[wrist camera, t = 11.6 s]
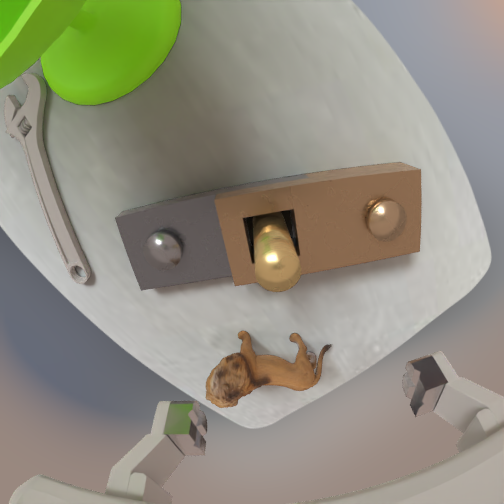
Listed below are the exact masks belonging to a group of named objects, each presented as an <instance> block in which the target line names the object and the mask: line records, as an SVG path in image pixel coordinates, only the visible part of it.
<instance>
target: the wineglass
mask: <svg viewBox="0 0 504 504" xmlns="http://www.w3.org/2000/svg"><path fill="white" fill-rule="evenodd" d="M180 24H181V3H180V0H0V89H1V88H3V87H4V86H6V85H8V84H9V83H11V82H13V81H14V80H15V79H16V78H17V77H18V76H20V75H21V74H22V73H23V72H24V71H26V70H27V69H28V68H29V67H30V66H32V65H33V64H34V63H35V62H36V61H37V60H38V59H39V58H40V57H41V64H42V69H43V74H44V77H45V79H46V81H47V82H48V84H49V86H50V88H51V89H52V90H53V91H54V92H55V93H56V94H58V95H59V96H60V97H61V98H62V99H64V100H67V101H69V102H72V103H75V104H77V105H97V104H102V103H106V102H110V101H114V100H115V99H117V98H119V97H121V96H123V95H125V94H128V93H130V92H132V91H133V90H134V89H135V88H137V87H138V86H139V85H140V84H142V83H143V82H144V81H146V80H147V79H148V78H150V76H151V75H152V74H153V73H154V72H155V71H156V69H157V68H158V67H159V66H160V65H161V64H162V63H163V62H164V60H165V58H166V57H167V55H168V53H169V51H170V50H171V48H172V46H173V45H174V43H175V41H176V37H177V34H178V30H179V27H180Z"/></svg>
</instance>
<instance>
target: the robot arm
mask: <svg viewBox="0 0 504 504" xmlns="http://www.w3.org/2000/svg"><path fill="white" fill-rule="evenodd" d="M406 371H407V372H406V373H405V374H404V375H403V380H402V383H403V389H404V392H405V395H406V397H408V398H410V399H412V400H411V403H410V406H411V408H412V410H413V413H414V415H415V417H417V416H420V415H423V414H426V413H428V412H431V411H433V412H435V413H436V414H437V415H439V416H440V417H442V418H443V419H444V420H446V421H447V422H449V423H450V424H451V425H453V426H454V427H456V428H457V429H459V430H460V431H461V432H463V435H462V436H461V437H460V439H459V440H458V442H457V444H456V446H457V448H458V450H459V453H458V454H456V455H454V456H452V457H450V458H447V459H445V460H443V461H441V462H439V463H436V464H434V465H432V466H429V467H427V468H425V469H422V470H420V471H417V472H415V473H412V474H410V475H407V476H404V477H401V478H398V479H395V480H392V481H389V482H386V483H383V484H380V485H377V486H373V487H369V488H366V489H362V490H358V491H355V492H351V493H347V494H342V495H337V496H333V497H328V498H323V499H317V500H311V501H305V502H298V503H291V504H504V397H503V396H500V395H499V394H496V393H494V392H492V391H490V390H488V389H486V388H484V387H482V386H480V385H478V384H476V383H474V382H472V381H470V380H467V379H465V378H463V377H461V378H459V377H458V375H457V373H456V372H455V370H454V369H453V367H452V366H451V365H450V363H449V361H448V360H447V358H446V357H445V355H444V354H443V352H441V351H438V352H436V353H433V354H430V355H426V356H423V357H420V358H418V359H415V360H412V361H409V362H408V363H407V364H406ZM199 407H200V405H199V403H198V402H197V401H160V402H159V404H158V405H157V409H156V413H155V417H154V421H153V426H152V430H151V434H147V435H146V436H145V437H144V438H143V439H142V440H141V441H140V442H139V443H138V444H137V445H136V446H134V448H133V449H131V450H130V451H129V452H128V453H127V454H126V455H125V456H124V457H123V458H122V459H121V460H120V461H119V462H118V463H117V464H116V465H114V466H113V467H112V469H111V473H110V477H109V481H108V485H107V489H106V492H105V494H103V493H99V492H95V491H92V490H88V489H84V488H81V487H77V486H74V485H71V484H67V483H65V482H61V481H59V480H56V479H53V478H50V477H47V476H45V475H36V476H34V477H33V478H31V479H29V480H28V481H26V482H25V483H24V484H22V485H21V486H19V487H18V488H17V489H16V490H15V491H14V493H13V495H12V497H11V499H10V501H9V503H8V504H172V495H171V494H170V493H168V492H167V491H166V490H164V489H163V488H162V486H163V485H164V483H165V482H166V481H167V480H168V478H169V477H170V476H171V475H172V473H173V472H174V471H175V469H176V468H177V467H178V465H179V464H180V463H181V461H182V460H183V459H184V457H185V456H199V455H205V447H206V441H205V439H204V438H203V436H204V435H205V434H206V433H207V419H206V416H205V414H204V412H203V411H201V410H199Z"/></svg>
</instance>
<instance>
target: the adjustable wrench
mask: <svg viewBox="0 0 504 504" xmlns="http://www.w3.org/2000/svg"><path fill="white" fill-rule="evenodd" d="M21 77H22V79H23V80H24V82H25V83H26V85H27V86H28V88H29V90H28V93H27V97H26V101H25V103H24V104H23V106H22V107H21V105H20V104H19V102H18V100H17V99H16V97H15V95H8V96H7V97H6V100H5V106H4V117H5V123H6V127H7V130H6V133H10V136H11V137H12V138H14V137H16V138H17V139H18V140H19V141H20V143H21V144H22V146H23V149H24V151H25V154H26V158H27V162H28V165H29V169H30V172H31V176H32V179H33V182H34V186H35V189H36V192H37V195H38V198H39V201H40V204H41V207H42V210H43V212H44V215H45V218H46V220H47V223H48V226H49V228H50V231H51V233H52V236H53V238H54V241H55V243H56V246H57V248H58V250H59V253H60V255H61V257H62V259H63V262H64V264H65V266H66V268H67V270H68V272H69V275H70V277H71V278H72V279H73V280H74V281H75V282H76V283H79V284H83V283H85V282H86V281H87V280H88V278H89V277H90V275H91V270H90V267H89V265H88V263H87V261H86V259H85V256H84V254H83V252H82V250H81V247H80V245H79V243H78V241H77V238H76V236H75V233H74V231H73V229H72V226H71V224H70V221H69V219H68V216H67V214H66V211H65V208H64V206H63V203H62V200H61V197H60V195H59V192H58V189H57V186H56V183H55V180H54V177H53V174H52V171H51V168H50V164H49V161H48V158H47V154H46V151H45V147H44V143H43V134H42V129H43V115H44V109H45V103H46V97H47V88H46V83H45V81H44V79H43V78H42V77H41V76H39V75H37V74H33V73H24V74H23V75H22V76H21ZM76 265H77V266H79V267H81V268H82V269H83V270H84V272H85V274H86V276H85V277H81V276H79V275H78V274H77V272H76V270H75V267H76Z"/></svg>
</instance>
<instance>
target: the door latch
mask: <svg viewBox="0 0 504 504" xmlns="http://www.w3.org/2000/svg"><path fill="white" fill-rule="evenodd" d="M284 210H290V216H291V222H292V229H293V236H294V238H291V239H292V242H293V245H294V248H295V250H296V253H297V256H298V259H299V262H300V265H301V275H303V274H308V273H314V272H319V271H324V270H330V269H335V268H340V267H345V266H351V265H356V264H361V263H366V262H371V261H376V260H381V259H386V258H391V257H395V256H400V255H405V254H410V253H414V252H419V251H420V236H421V169H418V168H415V167H413V166H410V165H407V164H404V163H401V162H398V163H387V164H377V165H368V166H360V167H351V168H343V169H336V170H328V171H321V172H314V173H307V174H301V175H294V176H288V177H282V178H276V179H270V180H264V181H259V182H253V183H248V184H242V185H237V186H232V187H227V188H222V189H217V190H212V191H207V192H202V193H198V194H193V195H189V196H184V197H180V198H175V199H171V200H167V201H162V202H158V203H154V204H150V205H146V206H142V207H138V208H134V209H130V210H126V211H123V212H121V213H120V214H119V215H118V216H117V217H115V219H116V222H117V225H118V228H119V231H120V234H121V237H122V240H123V243H124V246H125V249H126V252H127V254H128V257H129V260H130V263H131V265H132V268H133V271H134V273H135V276H136V278H137V281H138V283H139V286H140V288H141V290H146V289H153V288H159V287H166V286H172V285H179V284H185V283H191V282H198V281H204V280H210V279H216V278H222V277H228V276H233V280H234V284H235V286H239V285H245V284H251V283H257V282H258V281H257V279H256V275H255V258H254V245H251V241H250V236H249V231H248V226H247V221H246V217H250V216H256V215H261V214H267V213H273V212H279V211H284Z"/></svg>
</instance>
